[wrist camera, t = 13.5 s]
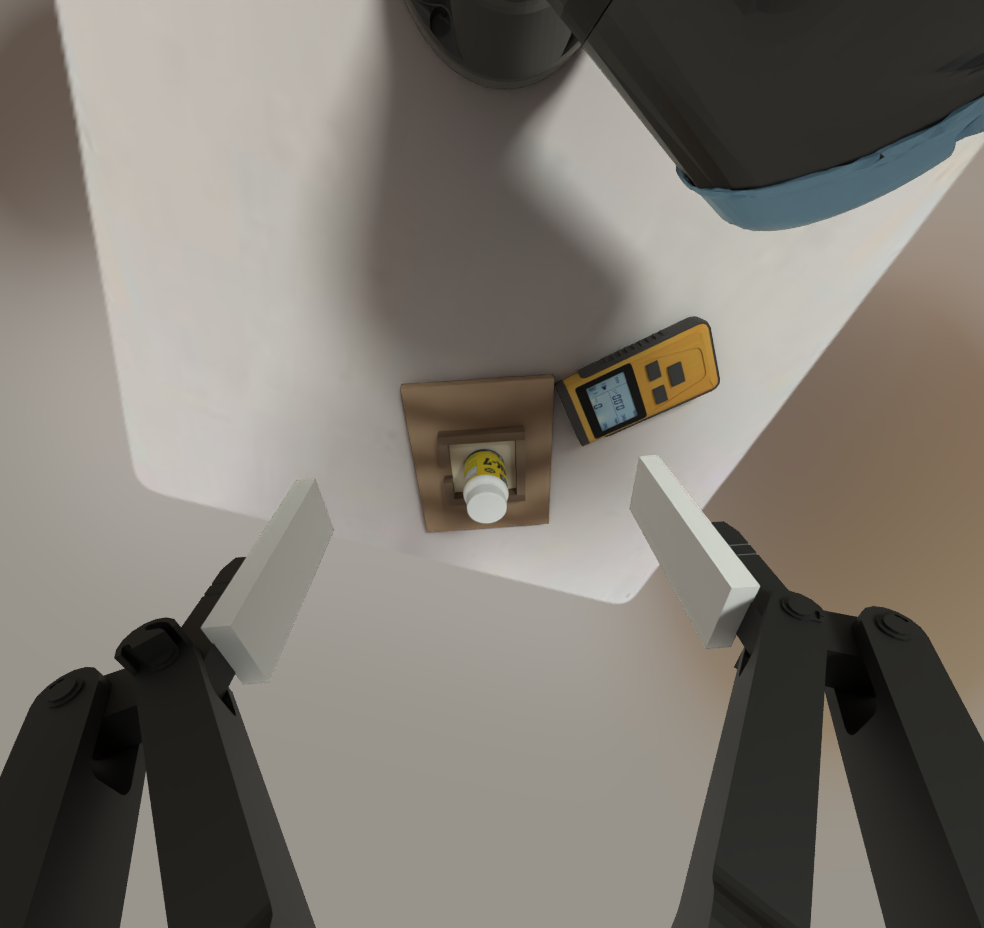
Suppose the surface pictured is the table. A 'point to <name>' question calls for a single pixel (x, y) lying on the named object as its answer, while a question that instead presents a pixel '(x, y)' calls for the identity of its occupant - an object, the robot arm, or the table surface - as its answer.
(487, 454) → the supplement bottle
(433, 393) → the board
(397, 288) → the table surface
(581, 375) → the electronic device
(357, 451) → the table surface
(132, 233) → the table surface
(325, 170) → the table surface
